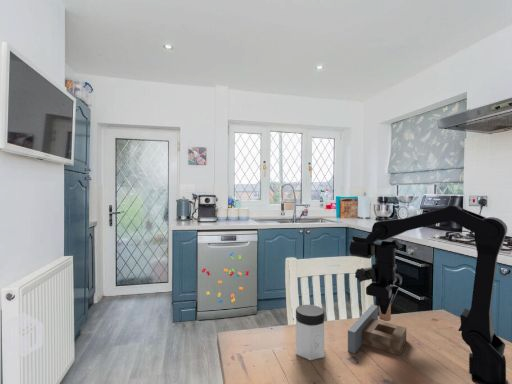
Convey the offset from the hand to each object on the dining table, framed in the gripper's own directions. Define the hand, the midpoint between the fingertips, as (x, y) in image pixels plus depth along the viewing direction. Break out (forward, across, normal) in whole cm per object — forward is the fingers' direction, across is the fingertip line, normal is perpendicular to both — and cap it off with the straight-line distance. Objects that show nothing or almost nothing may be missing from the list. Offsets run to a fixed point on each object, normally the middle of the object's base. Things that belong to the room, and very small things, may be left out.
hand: (385, 312), depth 85 cm
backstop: (+9, 0, -6) cm, 11 cm away
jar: (+9, +19, -16) cm, 26 cm away
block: (+9, 0, 0) cm, 9 cm away
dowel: (+2, 0, 0) cm, 2 cm away
